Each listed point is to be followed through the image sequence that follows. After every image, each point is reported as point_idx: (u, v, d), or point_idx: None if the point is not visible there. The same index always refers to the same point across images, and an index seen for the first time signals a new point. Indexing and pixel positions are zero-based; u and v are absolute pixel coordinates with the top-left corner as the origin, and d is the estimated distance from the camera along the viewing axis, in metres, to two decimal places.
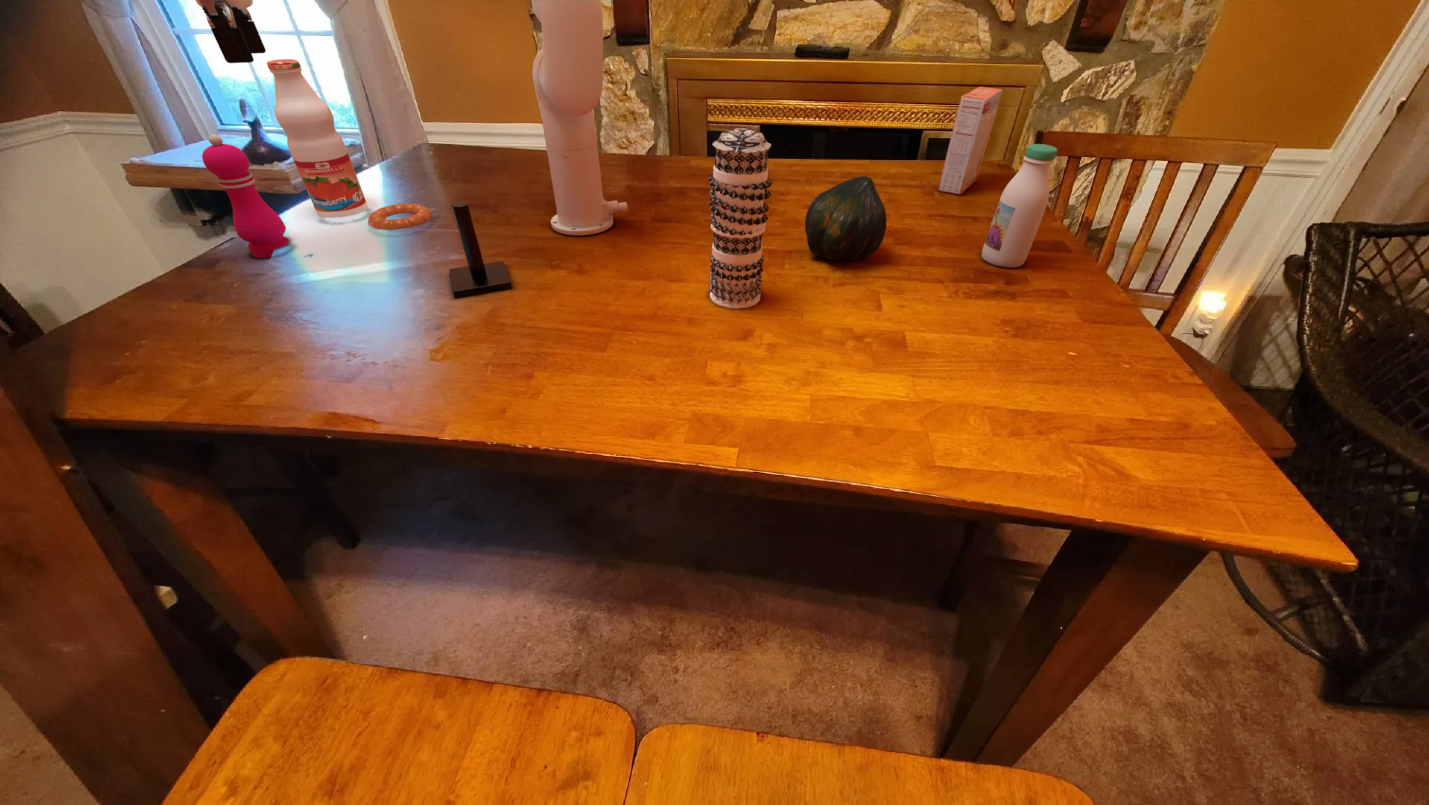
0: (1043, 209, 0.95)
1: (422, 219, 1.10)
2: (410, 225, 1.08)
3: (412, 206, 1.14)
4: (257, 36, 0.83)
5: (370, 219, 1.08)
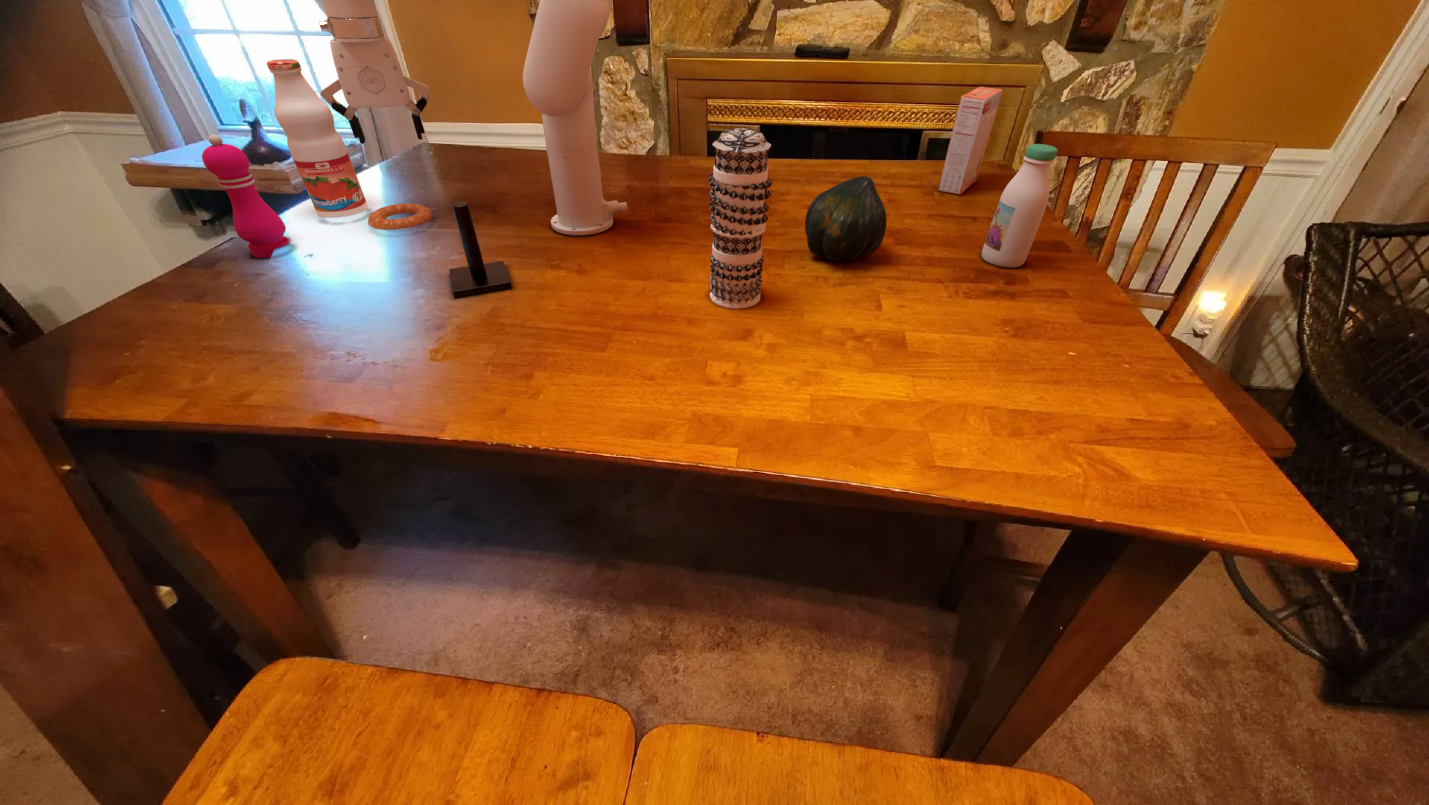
0: (1043, 209, 0.95)
1: (422, 219, 1.10)
2: (410, 225, 1.08)
3: (412, 206, 1.14)
4: None
5: (370, 219, 1.08)
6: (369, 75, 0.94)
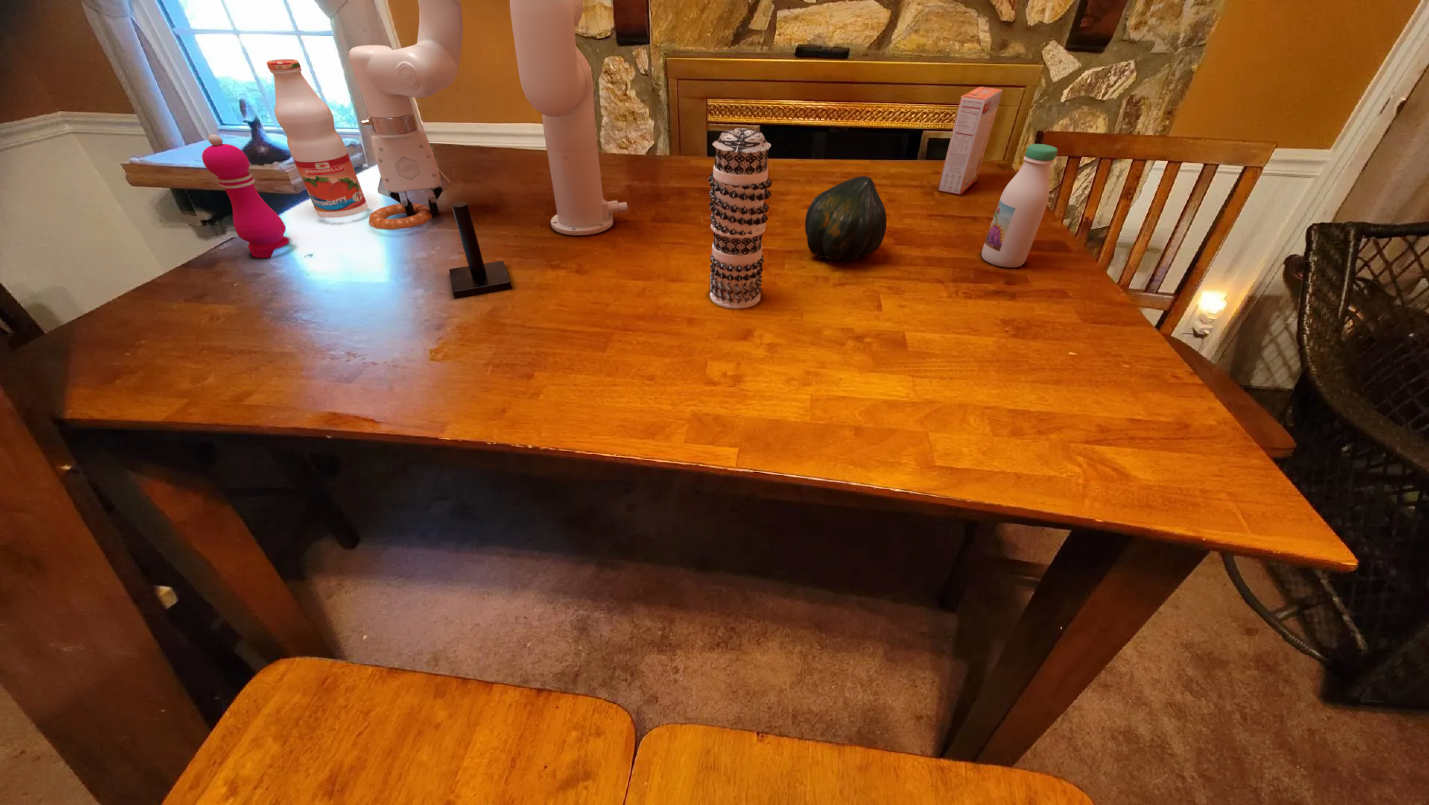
0: (1043, 209, 0.95)
1: (423, 219, 1.10)
2: (410, 224, 1.08)
3: (413, 206, 1.14)
4: (431, 212, 1.12)
5: (371, 219, 1.08)
6: (405, 164, 1.05)
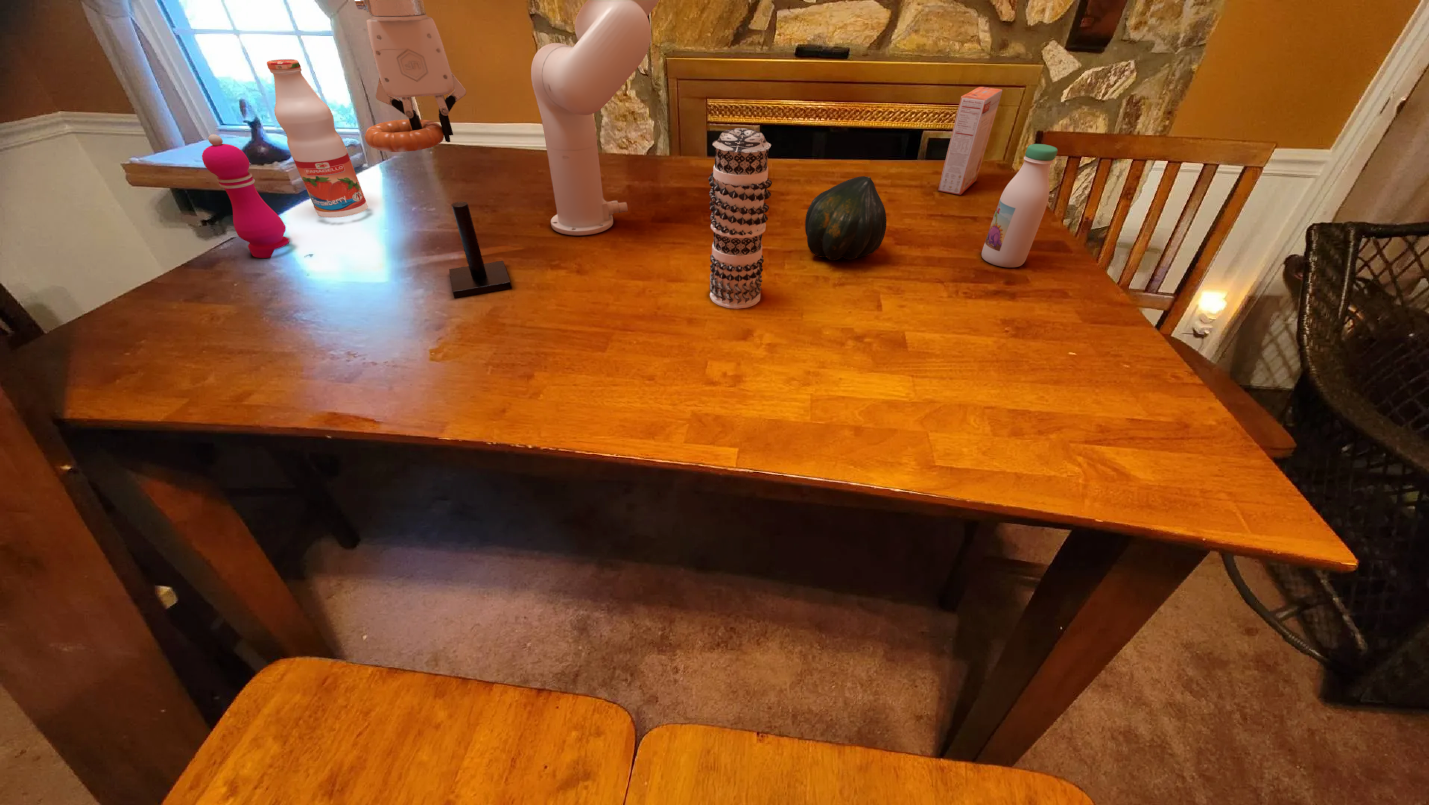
0: (1043, 209, 0.95)
1: (431, 134, 0.89)
2: (416, 140, 0.87)
3: (420, 121, 0.93)
4: (442, 128, 0.91)
5: (367, 132, 0.87)
6: (409, 59, 0.83)
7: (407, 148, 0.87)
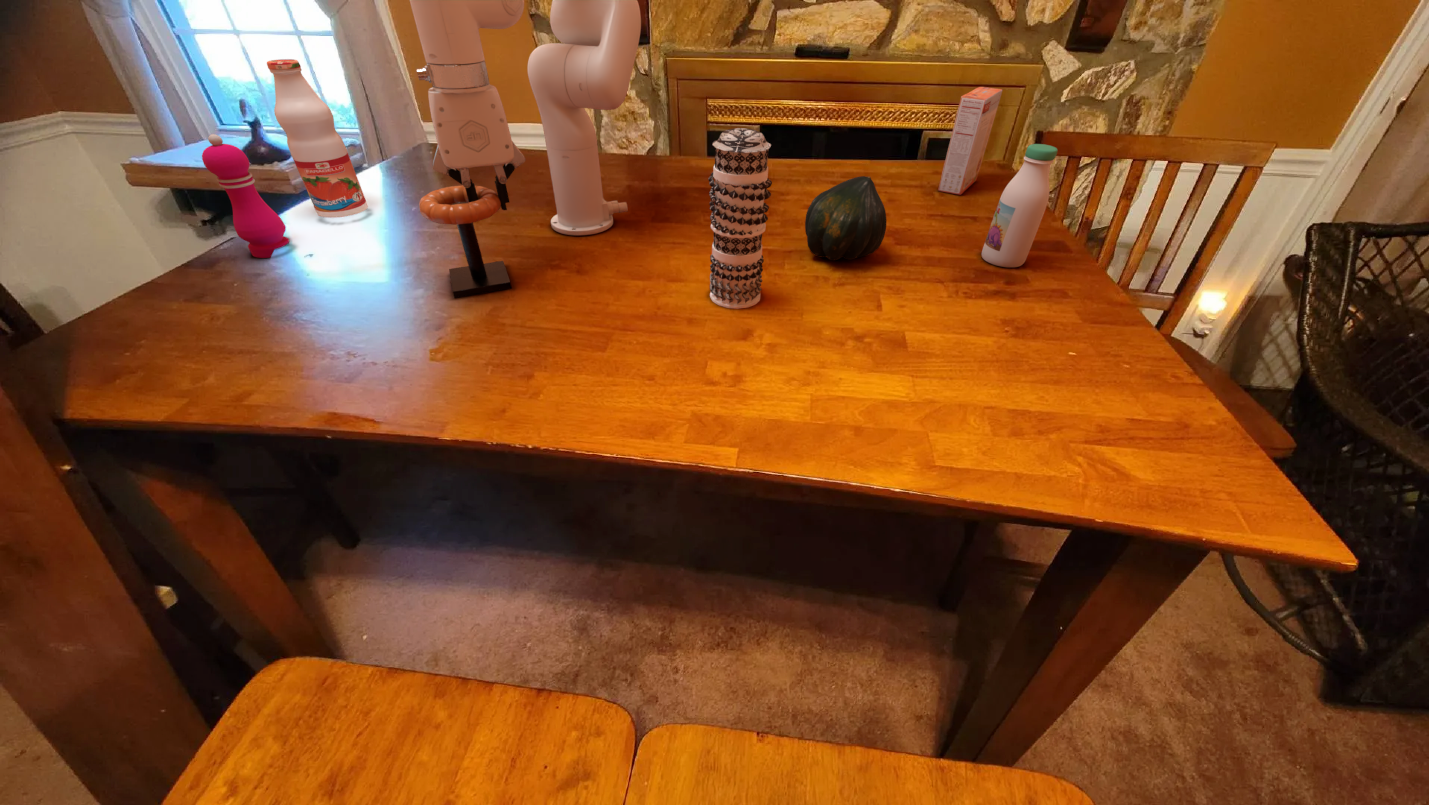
0: (1043, 209, 0.95)
1: (490, 205, 0.84)
2: (475, 212, 0.82)
3: None
4: (499, 196, 0.86)
5: (423, 204, 0.82)
6: (471, 130, 0.78)
7: (466, 221, 0.82)
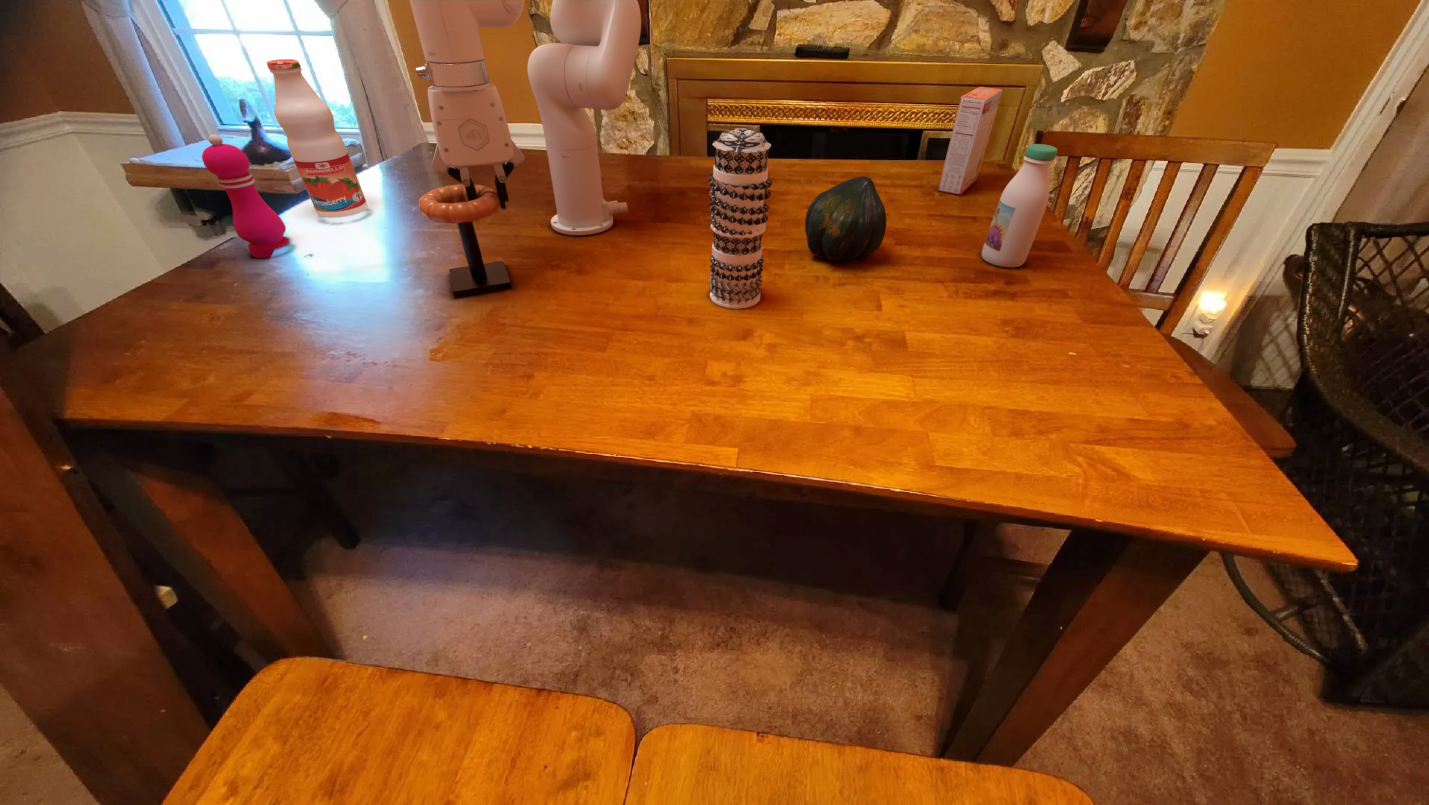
0: (1043, 209, 0.95)
1: (490, 204, 0.84)
2: (475, 211, 0.82)
3: None
4: (498, 195, 0.86)
5: (422, 203, 0.82)
6: (471, 129, 0.78)
7: (465, 219, 0.82)
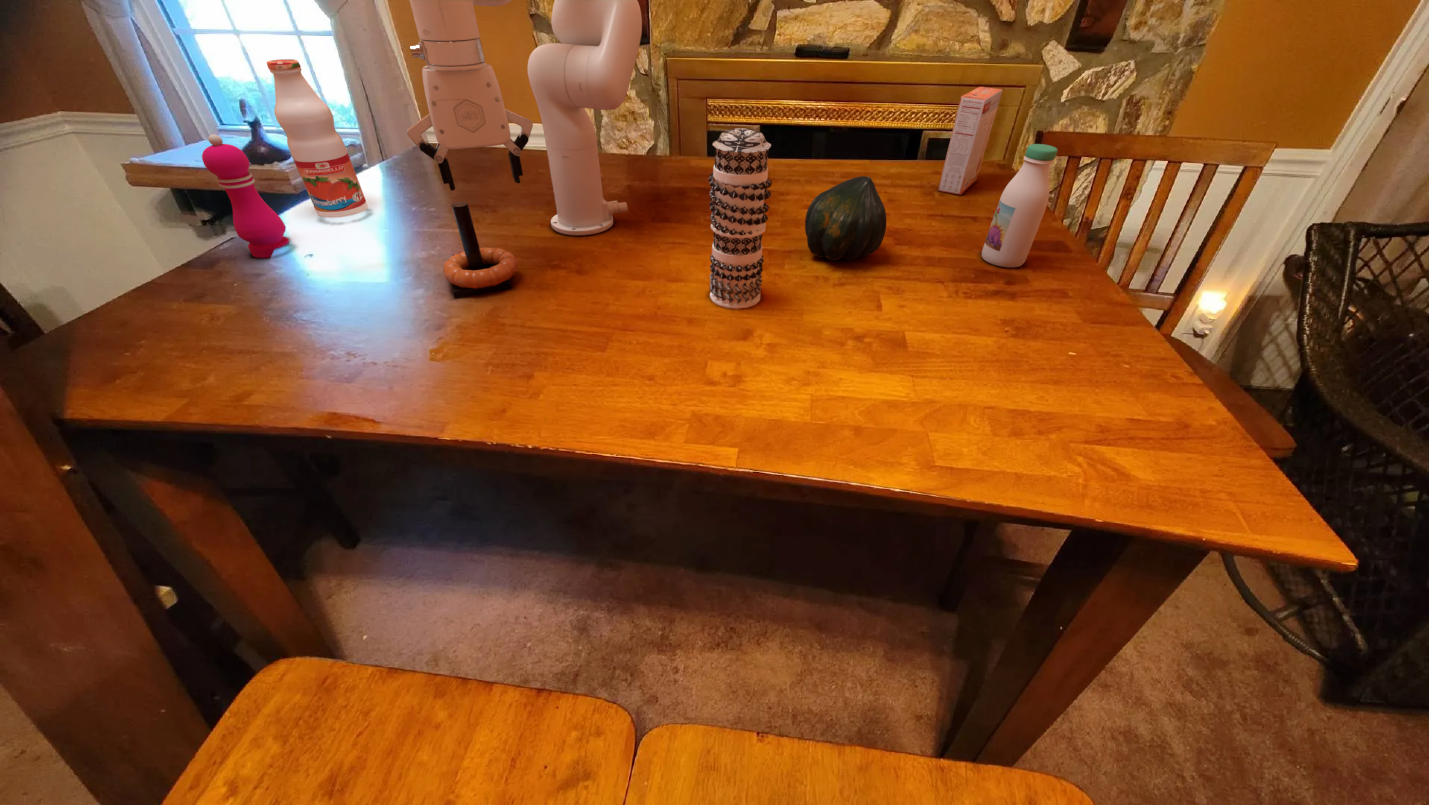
0: (1043, 209, 0.95)
1: (509, 269, 0.91)
2: (495, 277, 0.89)
3: (494, 251, 0.95)
4: (512, 169, 0.85)
5: (447, 270, 0.89)
6: (466, 109, 0.77)
7: (487, 285, 0.89)
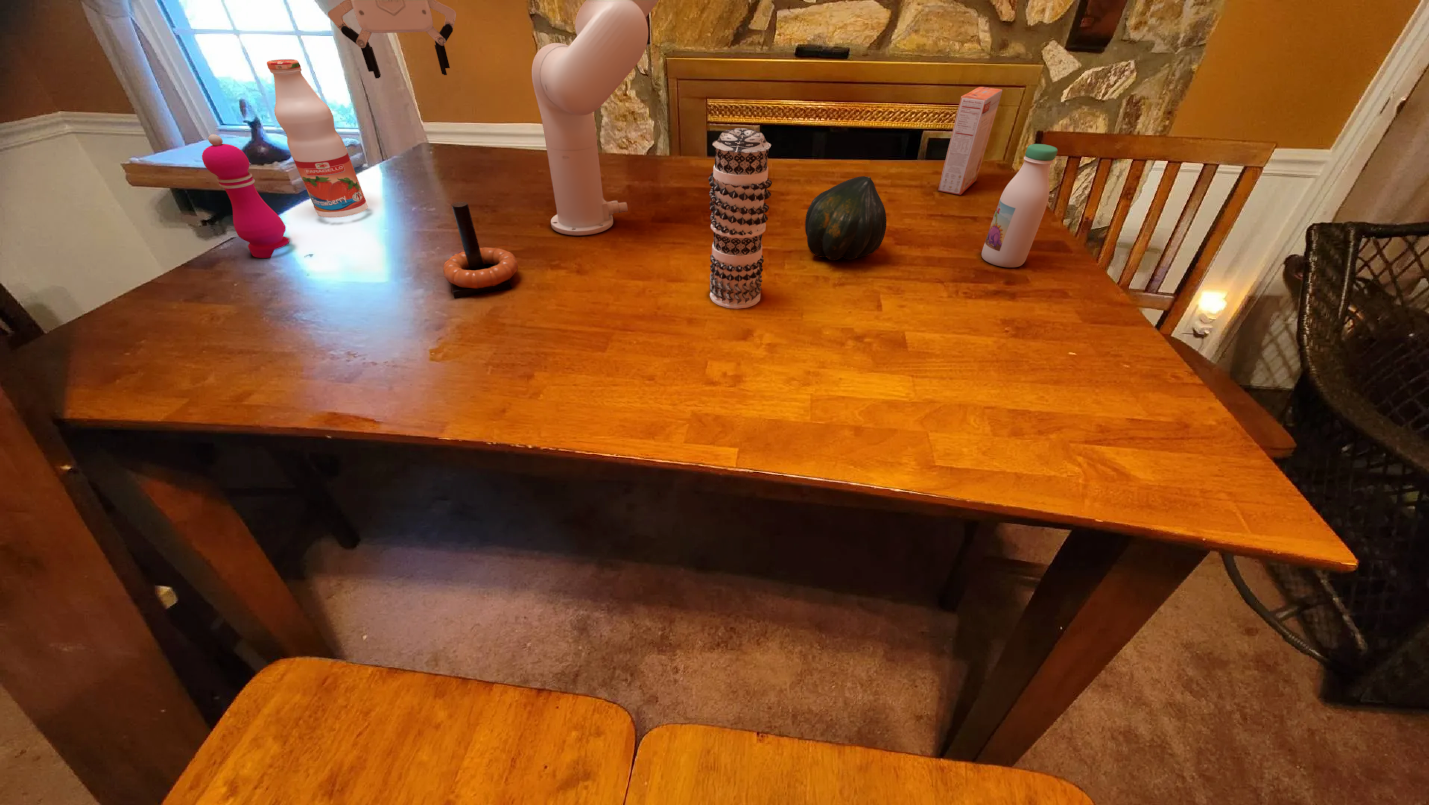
0: (1043, 209, 0.95)
1: (509, 269, 0.91)
2: (495, 277, 0.89)
3: (494, 251, 0.95)
4: (438, 59, 0.87)
5: (447, 270, 0.89)
6: None
7: (487, 285, 0.89)
